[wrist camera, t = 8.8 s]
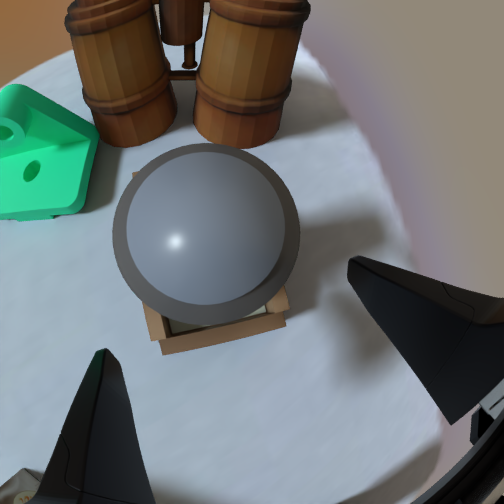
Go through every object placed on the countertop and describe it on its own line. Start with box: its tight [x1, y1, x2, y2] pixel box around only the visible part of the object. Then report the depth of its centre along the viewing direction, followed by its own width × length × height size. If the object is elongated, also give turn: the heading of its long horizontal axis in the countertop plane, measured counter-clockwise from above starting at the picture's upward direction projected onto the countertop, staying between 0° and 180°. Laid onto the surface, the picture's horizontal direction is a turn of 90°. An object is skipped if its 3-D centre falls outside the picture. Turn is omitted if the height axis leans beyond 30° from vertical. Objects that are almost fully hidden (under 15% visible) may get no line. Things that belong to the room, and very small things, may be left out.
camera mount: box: [0, 84, 100, 221], centre depth 14 cm, size 12×8×10 cm, turn 92°
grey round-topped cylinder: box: [112, 143, 300, 325], centre depth 13 cm, size 5×5×13 cm
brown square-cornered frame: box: [132, 171, 290, 355], centre depth 19 cm, size 14×9×3 cm, turn 14°
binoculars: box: [64, 0, 311, 149], centre depth 13 cm, size 18×8×20 cm, turn 90°
